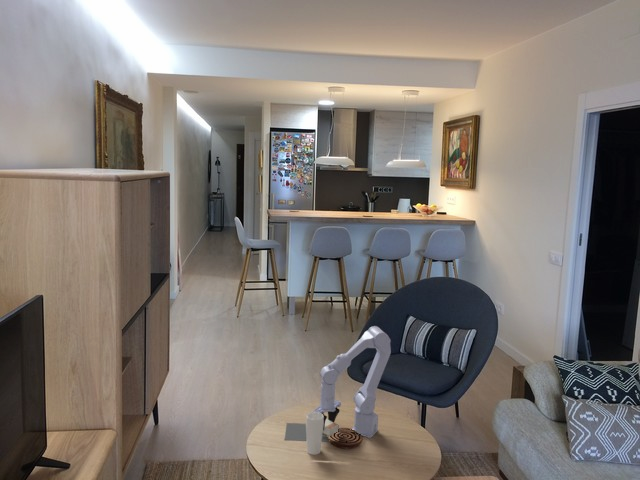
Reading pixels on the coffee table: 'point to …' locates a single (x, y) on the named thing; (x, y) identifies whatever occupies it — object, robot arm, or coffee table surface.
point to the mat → (299, 432)
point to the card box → (330, 427)
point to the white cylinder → (314, 432)
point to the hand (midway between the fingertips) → (326, 427)
